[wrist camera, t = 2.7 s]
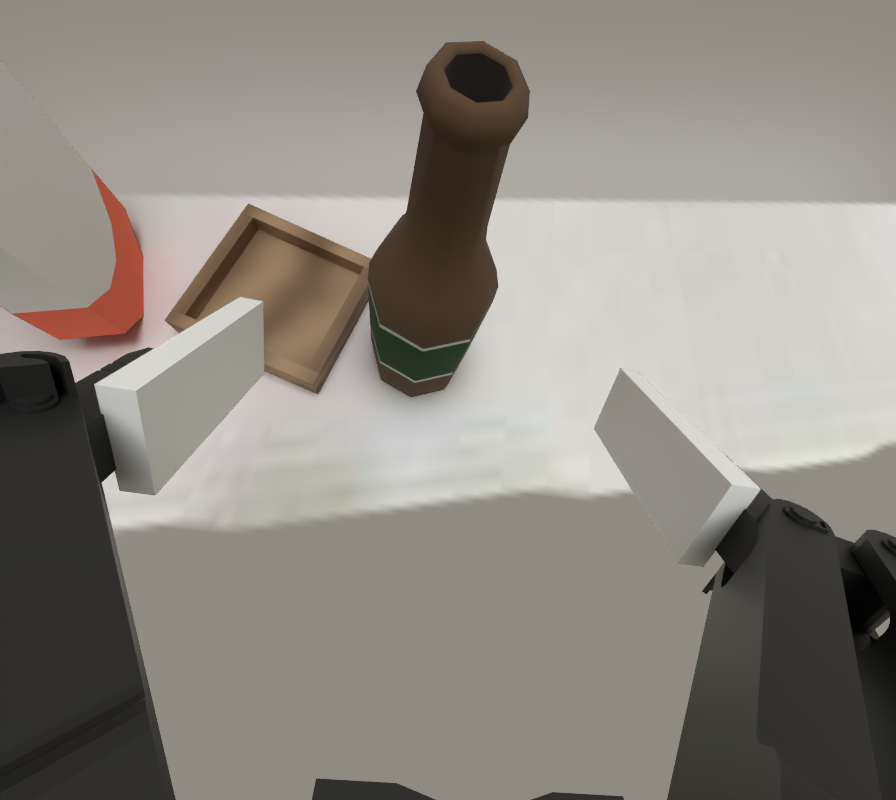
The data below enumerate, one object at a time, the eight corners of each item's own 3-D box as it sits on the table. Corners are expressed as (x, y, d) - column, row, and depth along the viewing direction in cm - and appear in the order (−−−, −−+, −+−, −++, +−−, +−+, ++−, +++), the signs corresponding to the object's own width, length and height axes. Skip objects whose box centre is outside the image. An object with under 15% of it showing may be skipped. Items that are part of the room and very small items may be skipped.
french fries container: (77, 353, 31) (-294, 158, 14) (82, 232, 34) (-229, -58, 17) (144, 346, 32) (-128, 155, 15) (143, 229, 35) (-90, -49, 17)
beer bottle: (378, 309, 36) (374, -43, 13) (464, 324, 37) (597, 19, 14) (364, 392, 34) (328, 141, 11) (455, 405, 35) (597, 200, 12)
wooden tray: (180, 334, 33) (164, 320, 30) (257, 223, 36) (248, 203, 34) (318, 393, 33) (313, 384, 31) (380, 278, 37) (379, 262, 34)
